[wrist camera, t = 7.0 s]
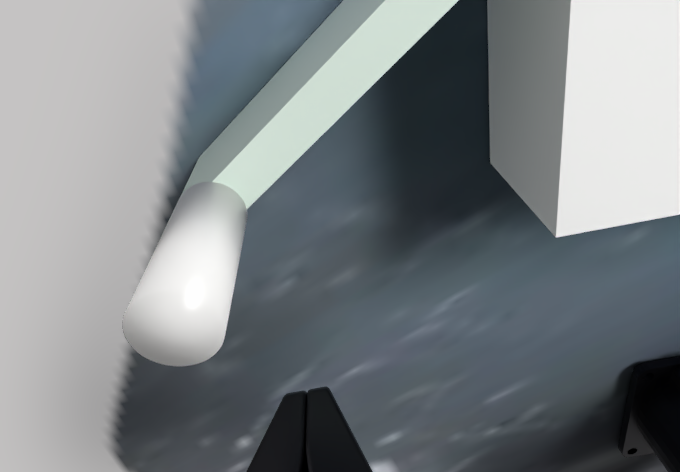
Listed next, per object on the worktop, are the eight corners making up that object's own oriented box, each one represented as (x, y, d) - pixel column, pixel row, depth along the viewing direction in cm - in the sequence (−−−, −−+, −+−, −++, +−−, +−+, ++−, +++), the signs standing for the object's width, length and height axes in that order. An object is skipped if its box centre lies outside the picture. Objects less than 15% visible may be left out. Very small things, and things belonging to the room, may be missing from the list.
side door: (231, 183, 16) (170, 392, 9) (191, 151, 15) (88, 346, 8) (473, -66, 13) (715, -81, 5) (435, -119, 12) (652, -222, 5)
